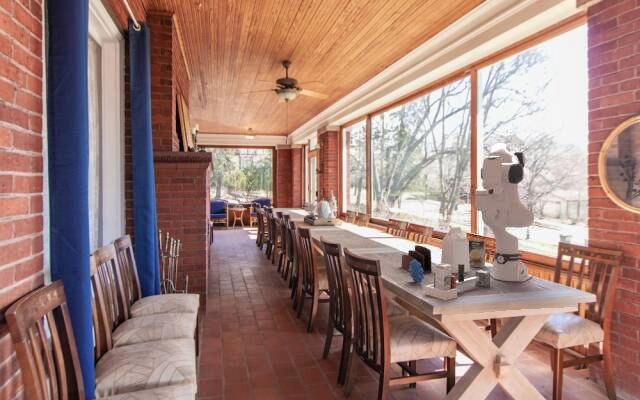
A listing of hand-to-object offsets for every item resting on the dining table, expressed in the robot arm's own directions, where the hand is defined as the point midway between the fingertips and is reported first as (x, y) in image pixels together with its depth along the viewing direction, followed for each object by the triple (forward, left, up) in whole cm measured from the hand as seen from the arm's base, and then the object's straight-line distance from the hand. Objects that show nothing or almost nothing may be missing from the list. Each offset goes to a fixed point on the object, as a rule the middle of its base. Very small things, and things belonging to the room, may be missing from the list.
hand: (491, 219), depth 193 cm
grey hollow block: (-10, -11, -35) cm, 38 cm away
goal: (+22, -11, -35) cm, 43 cm away
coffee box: (-48, -41, -35) cm, 72 cm away
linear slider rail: (+6, -11, -35) cm, 37 cm away
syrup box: (+21, -11, -35) cm, 43 cm away
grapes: (+14, -35, -35) cm, 52 cm away
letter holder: (-10, -56, -36) cm, 67 cm away
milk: (-27, -41, -35) cm, 60 cm away
